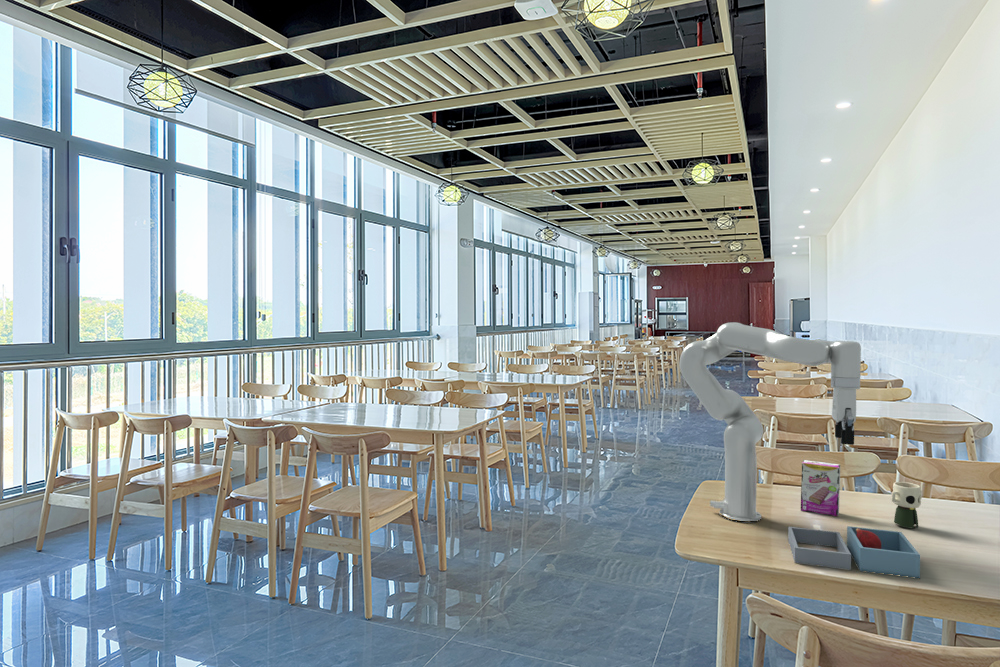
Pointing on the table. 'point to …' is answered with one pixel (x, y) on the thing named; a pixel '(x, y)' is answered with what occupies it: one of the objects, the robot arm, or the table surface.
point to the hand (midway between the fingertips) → (844, 440)
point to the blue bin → (885, 553)
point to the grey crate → (819, 556)
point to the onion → (868, 539)
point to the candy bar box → (820, 487)
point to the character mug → (906, 503)
